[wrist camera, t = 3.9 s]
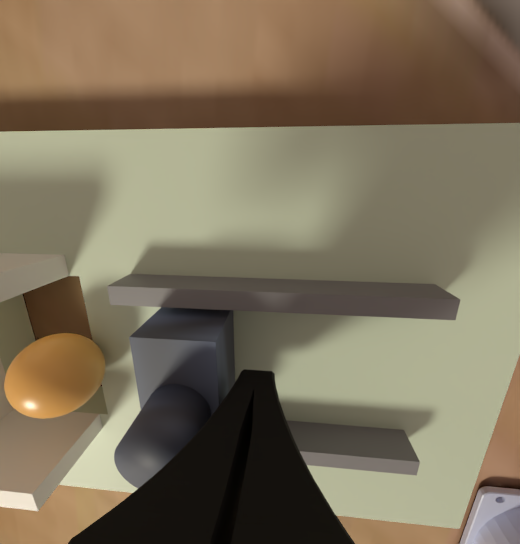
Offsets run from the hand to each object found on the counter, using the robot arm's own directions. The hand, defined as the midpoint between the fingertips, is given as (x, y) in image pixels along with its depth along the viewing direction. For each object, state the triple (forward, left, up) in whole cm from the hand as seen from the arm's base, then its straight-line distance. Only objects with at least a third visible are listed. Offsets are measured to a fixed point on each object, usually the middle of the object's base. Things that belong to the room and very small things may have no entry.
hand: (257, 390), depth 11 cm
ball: (+9, 0, 0) cm, 9 cm away
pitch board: (+3, 0, -4) cm, 5 cm away
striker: (+3, 0, -2) cm, 3 cm away
